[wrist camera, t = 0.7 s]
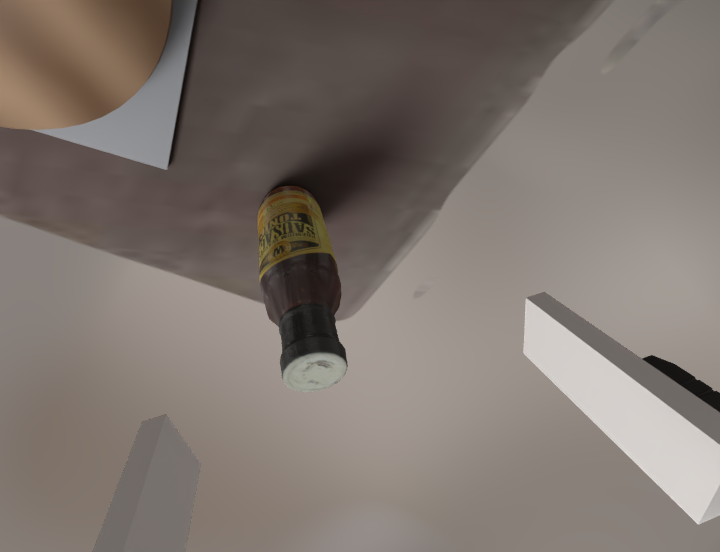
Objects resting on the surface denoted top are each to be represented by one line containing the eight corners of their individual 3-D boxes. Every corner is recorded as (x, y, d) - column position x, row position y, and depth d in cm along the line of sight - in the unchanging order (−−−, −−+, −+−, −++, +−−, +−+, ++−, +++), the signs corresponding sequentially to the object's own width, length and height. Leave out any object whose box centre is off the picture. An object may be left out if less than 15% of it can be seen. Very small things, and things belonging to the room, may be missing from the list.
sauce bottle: (300, 170, 33) (350, 317, 19) (328, 219, 38) (388, 370, 23) (240, 202, 34) (244, 370, 19) (275, 247, 38) (300, 413, 23)
